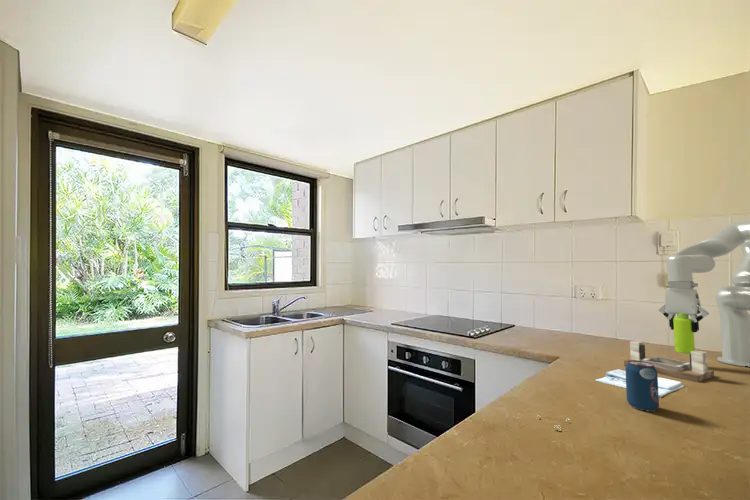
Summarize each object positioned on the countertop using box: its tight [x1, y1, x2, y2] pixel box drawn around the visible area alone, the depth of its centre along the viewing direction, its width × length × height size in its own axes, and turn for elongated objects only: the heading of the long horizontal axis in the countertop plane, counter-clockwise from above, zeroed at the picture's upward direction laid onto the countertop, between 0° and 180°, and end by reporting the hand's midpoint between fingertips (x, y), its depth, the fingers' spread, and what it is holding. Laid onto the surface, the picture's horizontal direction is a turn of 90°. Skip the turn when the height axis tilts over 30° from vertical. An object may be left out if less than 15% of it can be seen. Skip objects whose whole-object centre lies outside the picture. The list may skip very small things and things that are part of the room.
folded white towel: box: [595, 368, 685, 399], centre depth 111 cm, size 19×20×2 cm
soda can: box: [624, 360, 660, 412], centre depth 92 cm, size 7×7×12 cm
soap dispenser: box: [673, 312, 696, 355], centre depth 134 cm, size 6×7×20 cm
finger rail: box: [623, 340, 715, 383], centre depth 126 cm, size 14×22×9 cm, turn 28°
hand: (684, 330), depth 134 cm, fingers closed on soap dispenser, 6 cm apart
